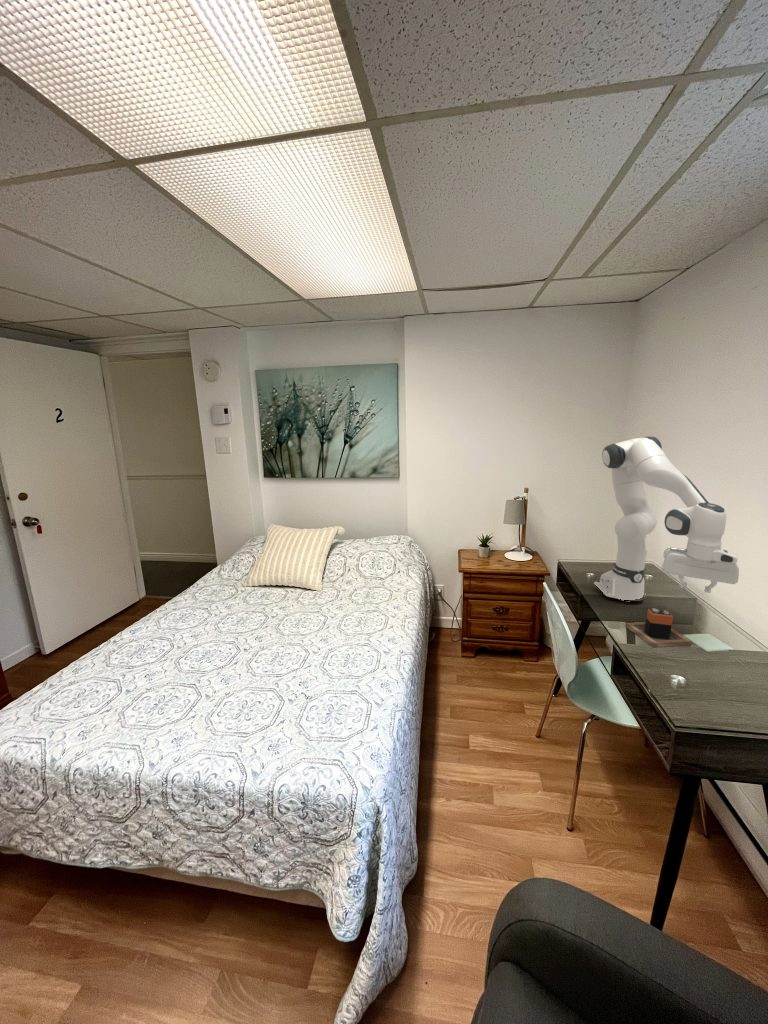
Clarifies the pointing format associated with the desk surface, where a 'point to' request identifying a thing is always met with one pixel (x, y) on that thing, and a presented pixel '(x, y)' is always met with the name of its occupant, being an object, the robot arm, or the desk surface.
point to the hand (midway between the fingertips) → (695, 589)
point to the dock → (664, 643)
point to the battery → (658, 623)
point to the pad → (708, 642)
